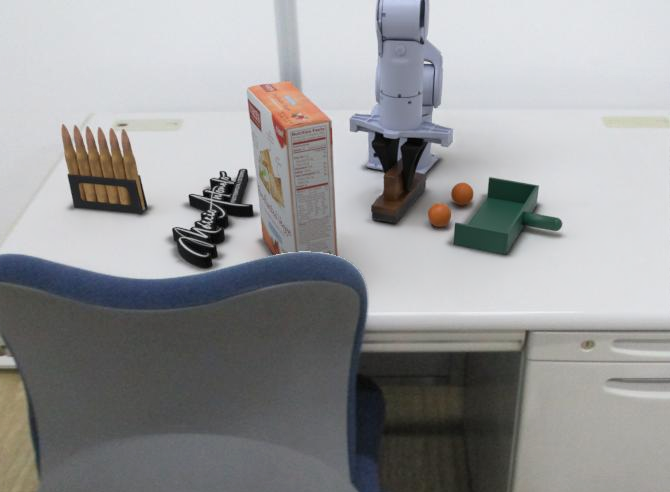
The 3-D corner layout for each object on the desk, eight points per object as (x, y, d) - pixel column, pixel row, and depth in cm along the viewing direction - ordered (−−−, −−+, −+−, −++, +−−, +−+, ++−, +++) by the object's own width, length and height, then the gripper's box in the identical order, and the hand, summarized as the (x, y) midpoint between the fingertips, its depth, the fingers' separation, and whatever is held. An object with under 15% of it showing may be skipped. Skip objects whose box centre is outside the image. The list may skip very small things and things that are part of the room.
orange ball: (447, 206, 121) (448, 186, 119) (454, 197, 123) (456, 177, 121) (468, 210, 120) (470, 190, 118) (475, 201, 122) (477, 181, 120)
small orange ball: (424, 228, 116) (425, 207, 114) (432, 218, 118) (433, 197, 116) (446, 232, 115) (447, 211, 113) (453, 222, 117) (455, 201, 115)
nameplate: (238, 257, 106) (159, 257, 106) (239, 268, 107) (161, 268, 107) (262, 168, 128) (197, 168, 128) (263, 178, 128) (198, 177, 129)
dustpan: (453, 244, 112) (454, 223, 110) (487, 196, 124) (489, 176, 122) (546, 262, 109) (549, 241, 107) (573, 211, 120) (576, 191, 118)
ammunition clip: (148, 208, 120) (132, 127, 113) (142, 214, 119) (126, 132, 111) (79, 201, 122) (59, 121, 114) (73, 207, 121) (53, 126, 113)
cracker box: (260, 241, 113) (243, 85, 100) (301, 233, 115) (291, 78, 101) (295, 291, 103) (282, 125, 90) (340, 281, 105) (334, 116, 92)
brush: (371, 219, 117) (370, 180, 113) (403, 183, 126) (404, 146, 122) (394, 224, 116) (395, 185, 112) (426, 187, 125) (427, 150, 121)
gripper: (339, 92, 110) (342, 188, 119) (442, 108, 106) (437, 206, 114) (360, 76, 115) (362, 169, 124) (460, 90, 111) (454, 186, 119)
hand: (399, 186), depth 119 cm, fingers closed on brush, 2 cm apart
